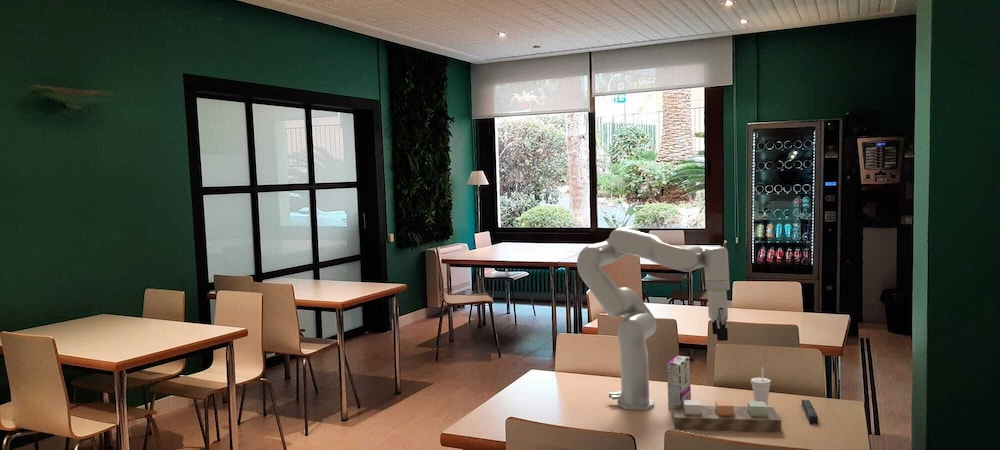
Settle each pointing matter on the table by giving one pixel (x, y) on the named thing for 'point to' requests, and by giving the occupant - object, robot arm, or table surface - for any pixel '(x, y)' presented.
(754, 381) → the smoothie
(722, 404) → the tan block
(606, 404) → the table surface
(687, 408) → the grey button
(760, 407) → the sage button
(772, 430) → the console
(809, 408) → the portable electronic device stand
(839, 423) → the table surface
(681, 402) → the candy bar box
